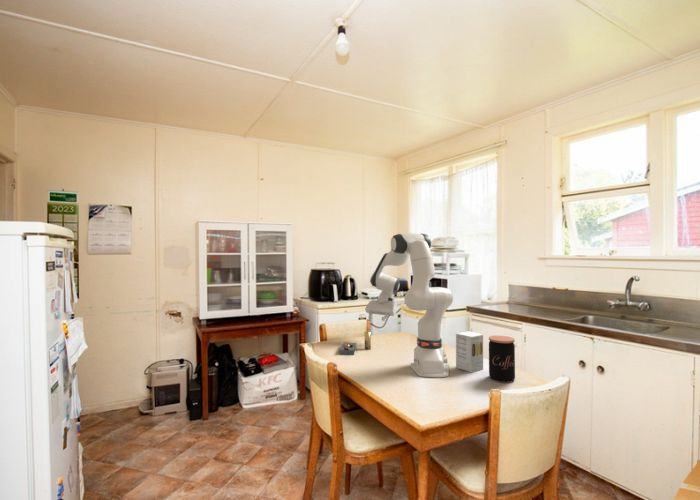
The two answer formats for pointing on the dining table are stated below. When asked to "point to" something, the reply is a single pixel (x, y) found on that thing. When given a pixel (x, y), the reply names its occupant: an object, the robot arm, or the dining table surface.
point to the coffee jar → (502, 358)
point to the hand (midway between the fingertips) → (376, 319)
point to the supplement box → (469, 351)
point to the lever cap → (367, 340)
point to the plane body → (348, 349)
